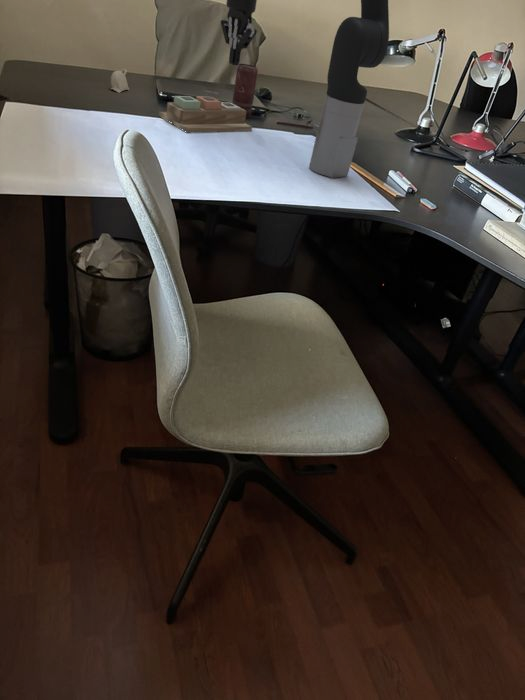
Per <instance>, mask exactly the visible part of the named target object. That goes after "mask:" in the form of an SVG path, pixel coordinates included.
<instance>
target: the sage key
mask: <svg viewBox="0 0 525 700" xmlns="http://www.w3.org/2000/svg"><path fill="white" fill-rule="evenodd" d="M173 102H174V105H175V106H177V107H179V108H181V109H182V110H200V101H198V100H196V98H194V97H193V96H189V95H174V97H173Z"/></svg>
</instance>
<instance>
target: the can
mask: <svg viewBox="0 0 525 700" xmlns="http://www.w3.org/2000/svg"><path fill="white" fill-rule="evenodd" d="M258 71H259V70H258V67H257V66H256V65H255V66H254V65H252V64H247V63H239V64H238V65H237V67H236V75H235V83H234V87H233V88H234V90H233V96H232V102H231V103H232V104H234V105H236V106H238V107H240V108H242V109H244V110H246V111H247V112H246V118H245V120H247V119H249V118H250V117H251V115H252V110H253V104H254V96H255V90H256V85H257V80H258V73H259V72H258Z"/></svg>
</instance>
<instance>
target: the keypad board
mask: <svg viewBox="0 0 525 700" xmlns="http://www.w3.org/2000/svg"><path fill="white" fill-rule="evenodd" d="M158 112H159V113H158V117H160V118H161V119H163V120H164V121H166V120H168V121H170V122H172V123H173V124H175V125H176V126H178V127H179V128H181V129H183V130H184V131H186V132H206V133H216V132H215V131H219V132H218V133H233V132H232V131H240V132H252V130H253V126H252V125H251V124H248V123H246V119H245V118H246V112H247V111H246V110H244V109H242V108H241V109H240V110H225V109H223V108H221V110H204V109H202V108H201V107H200V110H182V109H181V108H179V107H177V106H175V105H174V101H167V103H166V111H158ZM168 121H167V122H168ZM173 124H172V125H173ZM176 126H175V127H176ZM178 127H177V128H178ZM179 128H178V129H179ZM181 129H180V130H181ZM183 130H182V131H183ZM184 131H183V132H184ZM186 132H185V133H186Z"/></svg>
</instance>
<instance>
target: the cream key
mask: <svg viewBox="0 0 525 700" xmlns="http://www.w3.org/2000/svg"><path fill="white" fill-rule="evenodd" d="M221 102H222V103H221V108H223V109H225V110H240V109H241V108H240V107H238V106H236V105H234V104H232V102H230V101H229V102H223V101H221Z"/></svg>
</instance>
